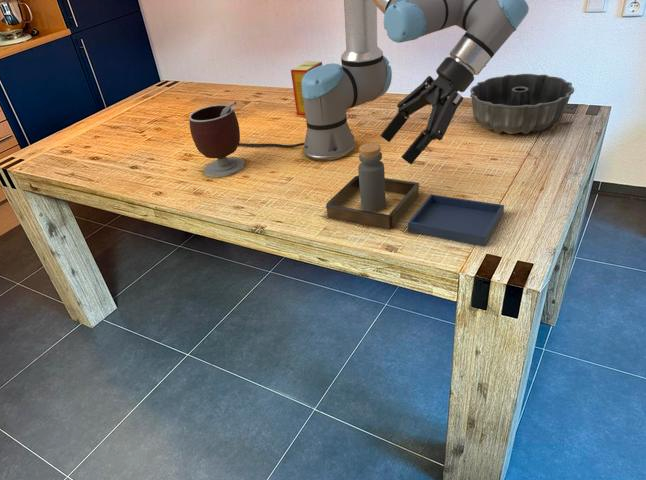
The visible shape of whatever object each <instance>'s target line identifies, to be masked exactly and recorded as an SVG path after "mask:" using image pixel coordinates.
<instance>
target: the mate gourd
mask: <svg viewBox="0 0 646 480" xmlns="http://www.w3.org/2000/svg"><path fill="white" fill-rule="evenodd" d="M235 105H237V101H232V102H231V103H229V104H213V105H209V106H204V107H201V108H199V109H197V110H194V111H193V112H191V113H190V114H189V115H188V119H189V131H190V134H191V138H192V141H193V142H194V146H195V147H196V150H197V151H198V152H199V153H200V154H201V155H202V156H203V157H205V158H208V159H216V160H213V161H212V162H209V163H208V164H206V165H205V167H204V169H203V173H204V174H205V176H207V177H210V178H223V177H228V176H232V175H235V174H236V173H238V172H240V171H242V170H243V169H244V167H245V162H244V159H242V158H239V157H236V156H235V157H234V156H233V157H228V156H230V155H232V154H234V153H235V152H236V151H237V149H238V147H239V146H240V145H239V143H241V129H240V125H239V121H238V117H237V115H236V112H235V110H234V107H233V106H235Z"/></svg>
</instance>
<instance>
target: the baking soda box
mask: <svg viewBox="0 0 646 480" xmlns="http://www.w3.org/2000/svg"><path fill="white" fill-rule="evenodd" d="M321 65H323V62H322V61H304V62H303V63H301V64H299V65H297V66H296V67H294V68H292V69H290V74H291V82H292V89H293V96H294V103H295V110H296V115H297V116H302V117H303V116H304V117H306V116H305V108H304V101H303V96H302V79H303V76H304V75H305V74H306V73H307V72H308V71H310V70H311V69H313V68H315V67H318V66H321Z"/></svg>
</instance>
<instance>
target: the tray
mask: <svg viewBox="0 0 646 480" xmlns="http://www.w3.org/2000/svg"><path fill="white" fill-rule="evenodd" d="M504 210H505V204H499V203H492V202H487V201H479V200H474V199H472V200H471V199H466V198H459V197H452V196H446V195H438V194H433V193H431V194H430V195H429V196H428V197H427V198H426V199H425V201H424V202H423V203H422V204H421V206H420V207H419V208H418V209H417V211H415V213H414V214H413V216H411V218H410V219H409V220H408V222H407V232H409V233H413V234H419V235H425V236H429V237H433V238H434V237H435V238H440V239H444V240H450V241H455V242H461V243H466V244H471V245H477V246H481V247H485V246H486V245H487V243H488V241H489V240H490V238H491V236H492V234H493V233H494V231H495V229H496V228H497V226H498V224H499V222H500V221H501V219H502V217H503V216H504Z"/></svg>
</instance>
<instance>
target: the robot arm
mask: <svg viewBox="0 0 646 480" xmlns="http://www.w3.org/2000/svg"><path fill="white" fill-rule="evenodd" d="M343 6H344V7H343V8H344V29H345V31H344V32H345V33H344V34H345V50H344V51H343V52H342V54H341V56H340V62H341V63H340V64H339V63H333V62H332V63H326V64H322V65H321V66H318V67H315V68H313V69H311V70H310V71H308V72H307V73H306V74H305V75H304V76H303V79H302V96H303V101H304V108H305V116H304V117H305V123H306V131H305V132H306V133H305V137H304V142H300V143H299V142H298V143H295V144H280V143H247V142H246V143H244V142H239V145H238V146H243V147H277V148H278V147H279V148H290V149H291V148H297V147H302V146H303V153H304V156H305V158H307V159H309V160H311V161H318V162H329V161H330V162H331V161H336V160H339V159H342V158H345V157H348V156H349V155H351V154H352V153H353V152H354V151H356V140H355V135H354V134H353V133H352V130H351V129H350V126H349V124H348V120H347V119H348V118H347V117H348V116H347V110H350V109H353V108H355V107H358V106H361V105H363V104H367V103H369V102H373V101H375V100H377V99H378V98H380V97H383V96H384V95H385V94H386V93H387V92H388V90H389V89H390V86H391V84H392V79H393V78H392V77H393V72H392V66H391V65H389V64H390V61H389V60H388V58H387V57H386V56H384V51H383V50H382V49H381V48H380V47H379V46H378V10H380V12H381V13H382V14H383V28H384V30H386V36H387V37H388V39H389V40H391V41H393V42H394V43H399V44H400V43H405V42H410V41H415V40H418V39H420V38H421V37H424V36H427V35H430V34H433V33H436V32H439V31H442V30H445V29H449V28H451V27H454V26H456V27H458V28H460V29H462V30H463V31H465V32H464V34H463V35H462V36H461V37H460V39H459V40H458V41H457V43H456V44H455V45H454V46H453V48H452V49H451V50H450V52H449V55H450V56H447V57H445V58H444V59H443V60H442V62H441V63H440V64H439V66H438V67H437V68H436V70H435V72H436V74H437V75H438V76H437V77H436V79H434V78H433V77H432V76H431V75H428V76H427V77H426V78H425V79H424V80H423V82H422V83H421V84H419V85H418V86H417V87H416V88H414V89H413V90H412V91H411V92H410V93H409V94H407V95H406V96H405V97H404V98H403V99H401V100H400V101H399V102H398V103H397V105H396V107H397V108H398V109H397V113H396V114H395V115H394V116H393V118H392V120H391V121H390V122H389V124H387V126H386V127H385V128H384V130H383V131H382V132H381V133H380V135H379V136H380V137H381V138H382V139H384V140H385V141H386V142H388V143H390V142H391V141H392V140H393V139H394V137H395V136H396V135H397V134H398V133H399V131H400V130H401V129H402V127H403V126H404V125H405V124H406V122H407V121H408V120H409V119H410V116H411V115H412V114H414V113H416V112H417V111H419V110H421V109H423V108H424V107H426V106H431V111H430V115H429V118H428V121H427V125H426V128H425V129H423V130H422V131H421V132H420V133H419V134H418V135H417V137H416V139H414V140H413V142H412V143H411V145H409V147H407V149H406V150H405V152H404V153H403V154H402V155H401V158H402V159H403V160H404V161H405V162H407V163H408V164H410V165H412V164H413V163H414V162H415V161H417V158H419V156H420V155H421V153H423V152H424V151H425V150H426V148H427V147H428V146H429V145H430V144H431V142H432V141H435V140H437V141H439V142H440V141H442V140H443V138H444V136H445V134H446V132H447V130H448V128H449V126H450V124H451V121H452V119H453V118H454V116H455V113H456V112H457V109H458V108H459V106H460V105H461V104H462V102H463V101H464V97H463V96H462V95H461V94H460V93H465V91H466V90H467V89H468V88H469V87H470V86H471V84H473V82H474V81H475V76H478V75H479V74H480V73H481V72H482V70H484V68H485V67H487V64H489V62H490V61H491V60H492V58H493V57H494V56H495V55H496V54H497V52H498V51H499V50H500V49H501V48H502V46H503V45H504V44H505V43H506V42H507V40H508V39H509V38H510V37H511V36H512V35H513V34H514V32H516V31H517V29H518V27H519V26H520V25H521V24H522V22H523V20H524V19H525V18H526V16H527V15H528V13H529V10H530V9H529V5H528V3H527V1H526V0H343ZM459 92H460V93H459Z"/></svg>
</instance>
